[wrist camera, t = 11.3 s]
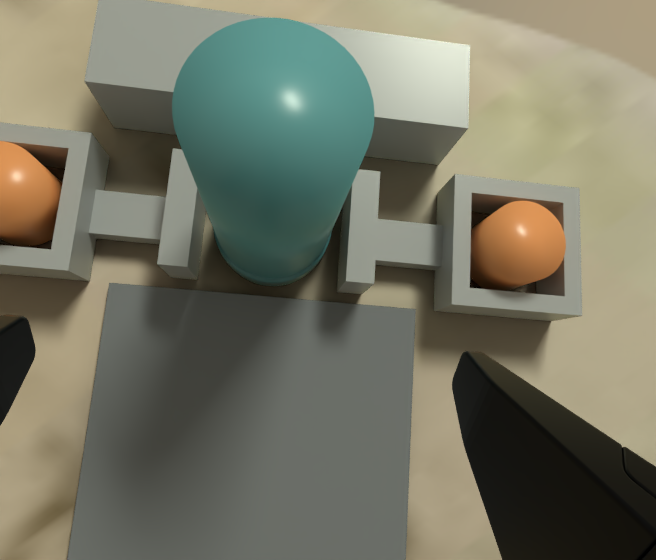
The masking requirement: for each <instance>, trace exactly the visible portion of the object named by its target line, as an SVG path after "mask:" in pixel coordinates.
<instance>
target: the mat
mask: <svg viewBox="0 0 656 560" xmlns="http://www.w3.org/2000/svg"><path fill="white" fill-rule="evenodd" d="M415 310H416V309H408V308H396V307H384V306H373V305H361V304H350V303H338V302H326V301H315V300H303V299H292V298H280V297H268V296H257V295H245V294H234V293H222V292H210V291H199V290H187V289H176V288H164V287H152V286H141V285H129V284H118V283H109V289H108V295H107V302H106V309H105V315H104V322H103V328H102V335H101V341H100V348H99V354H98V361H97V368H96V374H95V381H94V387H93V394H92V400H91V407H90V414H89V420H88V427H87V433H86V440H85V446H84V453H83V459H82V466H81V473H80V479H79V486H78V492H77V499H76V505H75V512H74V518H73V525H72V532H71V538H70V545H69V551H68V558H67V560H406V539H407V513H408V488H409V463H410V437H411V412H412V386H413V361H414V336H415Z"/></svg>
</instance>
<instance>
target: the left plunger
mask: <svg viewBox="0 0 656 560" xmlns="http://www.w3.org/2000/svg"><path fill="white" fill-rule="evenodd" d="M62 184H63V183H62V182H61V181H60V180H59V179H58V178H56V177H55V176H54V175H53V174H52V173H51V172H50V171H49V170H48V169H47V168H45V167H44V166H43V165H42V164H41V163H40V162H39V161H38V160H37V159H36V158H34V157H33V156H32V155H31V154H30V153H29V152H28V151H27V150H25V149H24V148H22V147H20V146H18V145H16V144H13V143H10V142H5V141H0V239H1V240H3V241H5V242H7V243H10V244H13V245H16V246H24V247H27V246H36V245H40V244H43V243H45V242H47V241H49V240H51V239H53V235H54V229H55V223H56V218H57V212H58V206H59V201H60V195H61V189H62Z"/></svg>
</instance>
